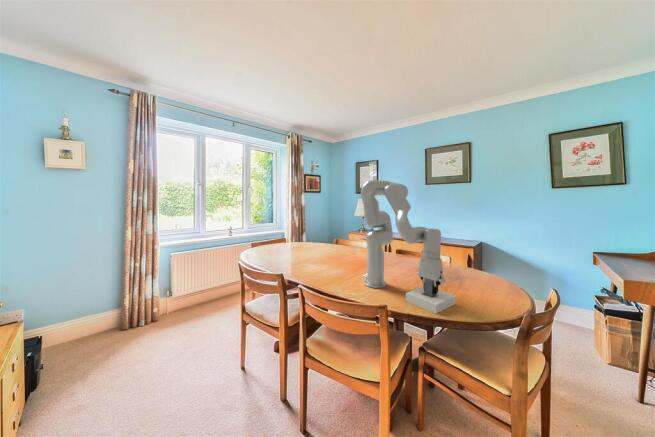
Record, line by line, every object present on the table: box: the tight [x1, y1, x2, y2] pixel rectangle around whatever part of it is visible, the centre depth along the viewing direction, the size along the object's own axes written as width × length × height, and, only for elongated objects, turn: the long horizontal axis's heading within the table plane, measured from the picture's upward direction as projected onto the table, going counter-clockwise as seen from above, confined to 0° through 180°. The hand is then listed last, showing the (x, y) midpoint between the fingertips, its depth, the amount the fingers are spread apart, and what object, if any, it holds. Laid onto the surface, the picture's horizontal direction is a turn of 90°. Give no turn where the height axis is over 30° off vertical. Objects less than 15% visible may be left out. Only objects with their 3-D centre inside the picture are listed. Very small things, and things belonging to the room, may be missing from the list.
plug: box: [424, 278, 437, 297], centre depth 119 cm, size 4×4×8 cm
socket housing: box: [405, 286, 456, 314], centre depth 120 cm, size 16×16×4 cm
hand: (430, 291), depth 119 cm, fingers closed on plug, 4 cm apart
